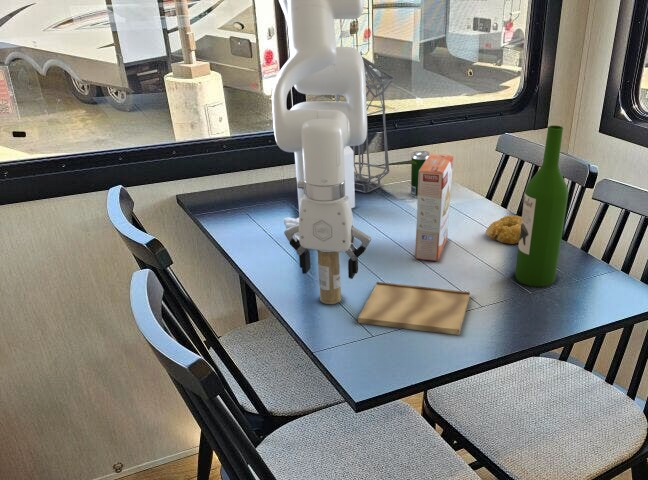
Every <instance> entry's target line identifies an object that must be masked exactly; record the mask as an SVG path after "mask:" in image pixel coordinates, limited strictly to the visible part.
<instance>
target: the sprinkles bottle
mask: <svg viewBox="0 0 648 480" xmlns="http://www.w3.org/2000/svg"><path fill="white" fill-rule="evenodd" d="M316 251H317V271H318V284H319V301H320V302H321V303H322V304H325V305H335V304H338V303H340V302H341V301H342V299H343V298H342V291H341V285H342V283H341V282H342V281H341V265H340V252H332V251H322V250H316Z"/></svg>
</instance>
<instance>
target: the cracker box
mask: <svg viewBox="0 0 648 480" xmlns="http://www.w3.org/2000/svg"><path fill="white" fill-rule="evenodd" d="M453 165H454V156H453V155H450V154H439V153H430V155H429V156H428V158H427V159H426V161H425V162H424V164H423V165H422V167H421V168H420V170H419V176H418V198H417V200H416V201H417V203H416V204H417V205H416V223H415V225H416V228H415V249H414V250H415V252H414V256H415V257H414V259H415V260H423V261H424V260H425V261H430V262H432V261H433V262H439V260H440V257H441V254H442V253H443V250H444V249H445V245H446V244H447V241H448V235H449V222H450V221H449V220H450V210H451V209H450V208H451V207H450V206H451V195H452V194H451V193H452V180H453V179H452V177H453Z"/></svg>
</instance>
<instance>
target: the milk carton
mask: <svg viewBox="0 0 648 480" xmlns="http://www.w3.org/2000/svg"><path fill="white" fill-rule="evenodd" d="M344 169H345V195H347V196H348V197H349V201H350V205H351V209H354V208H356V196H355V195H356V193H355V191H356V190H355V189H356V188H355V184H354V181H355V179H354V177H355V176H354V175H355V168H354V151H353V148H352V147H351V146H346V147H345V148H344Z"/></svg>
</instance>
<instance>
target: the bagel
mask: <svg viewBox="0 0 648 480" xmlns="http://www.w3.org/2000/svg"><path fill="white" fill-rule="evenodd" d="M521 220H522V216H520V215H512V214H511V215H505V216H503V217H501V218H500V219H498V220H495V221H494V222H492V223H490V225H489V226H488V227H487V228H486V229H485V235H486V236H487V237H488V238H489V239H491V240H494V241H498V242H500V243H502V244H508V245H514V244H519V237H520V229H521Z"/></svg>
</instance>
